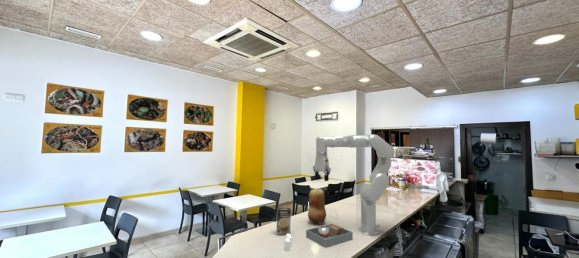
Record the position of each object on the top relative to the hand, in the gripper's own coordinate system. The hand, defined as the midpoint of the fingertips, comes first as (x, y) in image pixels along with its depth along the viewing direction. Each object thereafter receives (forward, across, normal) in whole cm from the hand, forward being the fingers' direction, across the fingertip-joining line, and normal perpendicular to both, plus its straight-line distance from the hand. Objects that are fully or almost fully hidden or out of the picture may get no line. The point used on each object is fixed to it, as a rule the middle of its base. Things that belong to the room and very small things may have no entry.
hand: (321, 179), depth 165 cm
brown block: (+34, -13, 0) cm, 36 cm away
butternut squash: (+34, +14, -8) cm, 38 cm away
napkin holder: (+35, -8, +33) cm, 48 cm away
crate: (+34, -13, +5) cm, 37 cm away
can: (+34, -13, +9) cm, 37 cm away
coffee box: (+34, +10, +24) cm, 43 cm away
